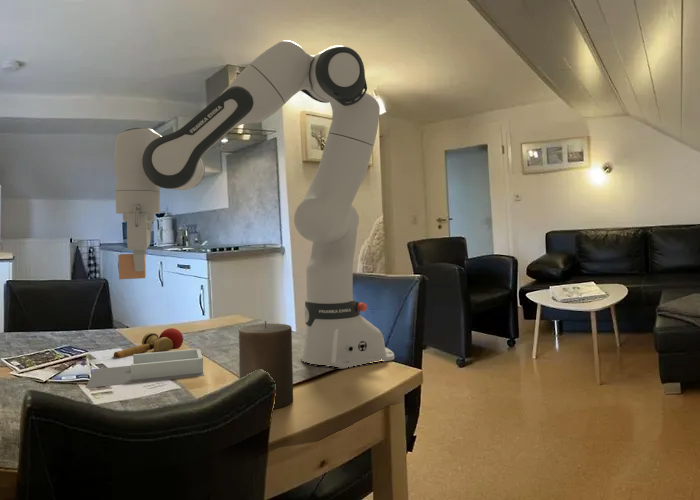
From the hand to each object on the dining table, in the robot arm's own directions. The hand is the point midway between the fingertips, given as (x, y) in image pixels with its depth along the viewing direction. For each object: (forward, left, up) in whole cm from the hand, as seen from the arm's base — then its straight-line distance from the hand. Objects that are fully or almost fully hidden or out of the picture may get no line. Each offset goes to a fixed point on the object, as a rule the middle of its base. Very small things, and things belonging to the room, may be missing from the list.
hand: (140, 269), depth 111 cm
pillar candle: (-22, +26, -23) cm, 41 cm away
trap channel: (-1, +3, -23) cm, 23 cm away
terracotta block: (+2, 0, -2) cm, 2 cm away
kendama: (-1, -18, -24) cm, 30 cm away
